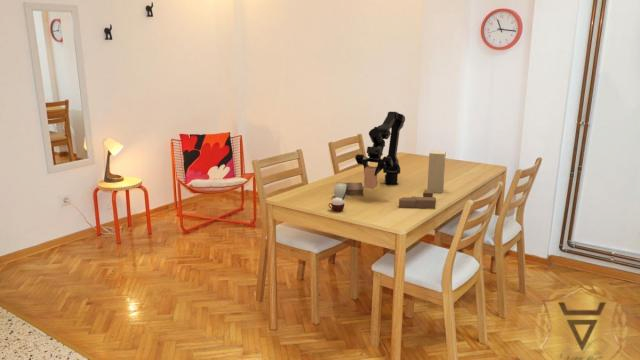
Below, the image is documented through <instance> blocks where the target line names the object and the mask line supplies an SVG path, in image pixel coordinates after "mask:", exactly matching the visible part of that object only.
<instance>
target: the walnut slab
mask: <svg viewBox="0 0 640 360" xmlns="http://www.w3.org/2000/svg"><path fill="white" fill-rule="evenodd" d="M344 183H345V184H346V189H347V186H349V187H348V189H347V192H346V196H364V185H363V182H344Z"/></svg>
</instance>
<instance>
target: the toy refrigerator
mask: <svg viewBox="0 0 640 360" xmlns="http://www.w3.org/2000/svg"><path fill="white" fill-rule="evenodd" d="M428 154H429V155H428V170H427V171H428V172H427V187H426V190H432V192H433V193H436V194H442V193H443V192H444V186H445V184H444V183H445V172H446V171H445V170H446V158H447V157H446V151H436V150H430V152H429V153H428Z"/></svg>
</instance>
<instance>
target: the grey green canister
mask: <svg viewBox="0 0 640 360" xmlns="http://www.w3.org/2000/svg"><path fill="white" fill-rule="evenodd" d="M345 183H346V182H336V183H334V185H333V186H334V191H333V192H334V197H333V199H334V198H341V199H343V197H344V194H345V191H346V184H345ZM345 199H347V195H346V194H345V197H344V200H345Z"/></svg>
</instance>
